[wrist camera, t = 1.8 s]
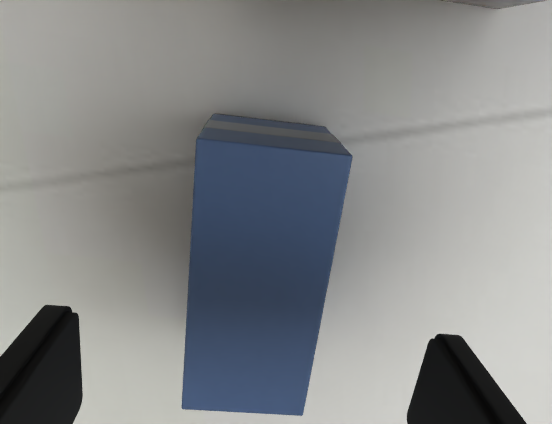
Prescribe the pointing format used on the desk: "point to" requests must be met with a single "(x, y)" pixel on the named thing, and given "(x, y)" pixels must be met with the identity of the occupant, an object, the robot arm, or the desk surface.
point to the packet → (259, 261)
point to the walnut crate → (495, 2)
